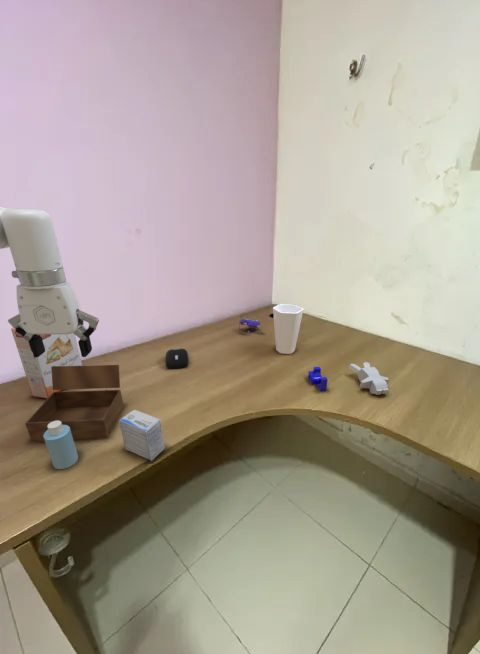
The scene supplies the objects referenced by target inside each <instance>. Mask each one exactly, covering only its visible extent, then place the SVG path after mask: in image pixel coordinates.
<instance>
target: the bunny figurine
mask: <svg viewBox="0 0 480 654" xmlns="http://www.w3.org/2000/svg"><path fill="white" fill-rule="evenodd" d="M348 369H349V370H351V371H354V372H356V373H357V377H358V381H359V382H360V385H359V387H360V388H361V389H369V393H370V394H371V395H376V396H379V395H385V394H388V393H389V388H388V385H389V384H388V383H389V381H390V379H389V377H387V376H383V375H381V374H380V372H379V370H378V369H377V368H376V367H375V366H371V363H370V362H368V361H365V362H363V367H362V368H361V367H360V366H359V365H358V364H355V363H350V364H349V366H348Z"/></svg>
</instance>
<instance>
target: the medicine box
mask: <svg viewBox="0 0 480 654" xmlns="http://www.w3.org/2000/svg"><path fill="white" fill-rule="evenodd" d="M119 426H120V432H121V436H122V441H123V445H124V449H125V450H126V451H129V452H131V453H133V454H135V455H137V456H139V457H142V458H144V459H147V460H149V461H151V462H153V461H154V460H155V458H157V457H158V456H159V455H160V454H161V453H162V452H163V451H164V450H165V449H166V447H165V440H164V435H163V433H164V432H163V428H162V421H161V419H160V418H158V417H155V416H153V415H150V414H148V413H145V412H142V411H139V410H137V409H133V410H132V411H130V412H129V413H127V414H125V415H124V416H123V417H122V418H120V419H119Z"/></svg>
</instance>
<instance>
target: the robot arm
mask: <svg viewBox="0 0 480 654" xmlns="http://www.w3.org/2000/svg"><path fill="white" fill-rule="evenodd" d="M54 226H55V225H54V222H53V220H52V217H51V215H50V213H48V212H47V211H45V210H43V209H34V208H33V209H32V208H10V207H9V208H8V207H4V206H0V250H3V249H6V248H7V249H8V248H9V250H10V253H11V257H12V260H13V264H14V266H15V270H11V277H12V278H14V279H18V282H19V284H17V285H16V303H17V309H18V314H16V315H14V316H12V317H10V318H9V319H7V323H8V324H10V326H11V328H15V330H16V332H17V333H19V334H20V335H22V336H23V337H24V339H25V340H26V341H28V342H29V345H30V348H31V351H32V352H33V355H34V357H39V356H40V355H42V354H43V353H44V352H45V347H44V344H43V340H42V337H41V336H40V335H38V334H72V333H74V334H75V336H76V338H79V340H78V341H77V344H78V348H79V352H80V357H82V358H86V357H88V356H89V354H90V353H91V352H92V350H93V346H92V342H91V338H90V337H91V335H92V334H93V333H94V332H95V331H97V327H98V325H99V322H100V318H98V317H96V316H95V315H91V314H89V313H87V312H86V311H85V312H84V311H82V309H81V306H80V305H81V304H80V302H79V300H78V299H79V298H78V297H77V294H76V293H75V292H76V291H75V290H74V288H73V286H72V284H71V282H70V281H69V282H68V281H67V277H66V272H65V268H64V264H63V261H62V255H61V252H60V248H59V243H58V239H57V236H56V235H57V234H56V229H55V227H54ZM85 322H86V323H88V327H86V326H85V325H84V323H85Z"/></svg>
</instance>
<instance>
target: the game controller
mask: <svg viewBox="0 0 480 654" xmlns="http://www.w3.org/2000/svg"><path fill="white" fill-rule="evenodd" d="M242 316H243V315H241V316H240V318H242ZM240 325H241V326H243V325H244V326H247V327H249V328H260V326H261V322H260V321H259V319H256V320H253V319H249V317H248V316H246V318H242V319H240V320H239V323H238V329H239V332H240V334H242V335H243V333H242V332H241V328H240ZM249 333H250V330H248V331H246V333H244V335H245V334H249ZM257 333H258V334H260V332H258V331H257ZM261 334H262V335H263V334H264V333H263V332H261Z"/></svg>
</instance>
